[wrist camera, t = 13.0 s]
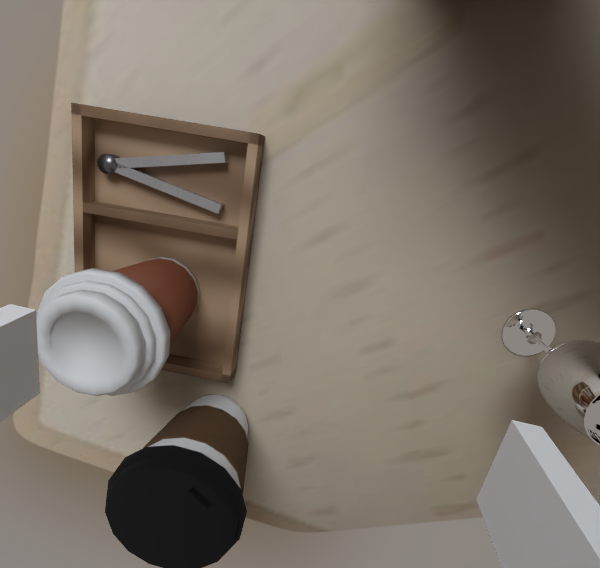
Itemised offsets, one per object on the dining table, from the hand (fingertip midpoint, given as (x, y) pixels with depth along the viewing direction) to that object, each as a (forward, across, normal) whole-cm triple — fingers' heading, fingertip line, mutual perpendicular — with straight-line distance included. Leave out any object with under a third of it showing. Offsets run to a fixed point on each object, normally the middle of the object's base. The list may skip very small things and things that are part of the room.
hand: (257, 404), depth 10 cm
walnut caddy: (+23, -13, -4) cm, 27 cm away
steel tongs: (+23, -14, +3) cm, 27 cm away
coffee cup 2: (+23, -7, -21) cm, 32 cm away
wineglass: (+24, +20, -4) cm, 32 cm away
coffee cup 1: (+23, -13, -8) cm, 27 cm away
